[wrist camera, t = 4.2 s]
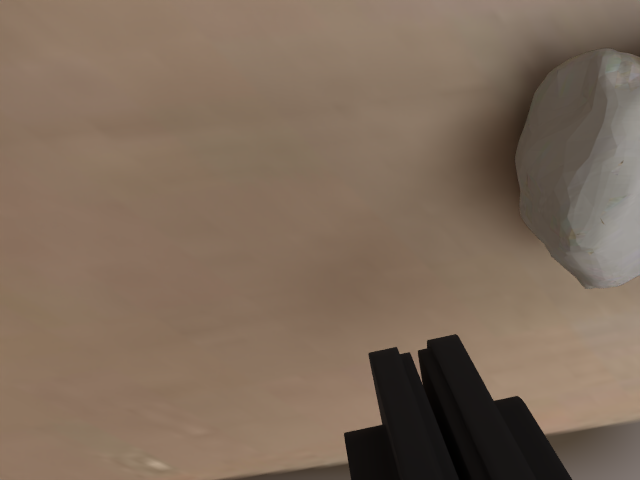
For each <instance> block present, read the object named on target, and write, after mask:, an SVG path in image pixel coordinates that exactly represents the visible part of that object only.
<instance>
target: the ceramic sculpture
mask: <svg viewBox="0 0 640 480" xmlns="http://www.w3.org/2000/svg"><path fill="white" fill-rule="evenodd" d="M515 164H516V171H517V176H518V181H519V186H520V191H521V193H520V201H519V208H520V214H521V217H522V219H523V220H524V222H525V224H526V225H527V226H528V228H529V229H530V230H531V231H532V232H533V233H534V234H535V235H536V236H537V237H538V238H539V239H540V240H541V241H542V242H543V243H544V244H545V246H546V248H547V249H548V251H549V253H550V255H551V257H553V258H554V259H555V260H556V261H557V262H558V263H559V264H561V265H562V266H563V267H564V268H565V269H566V270H568V271H569V272H570V273H571V274H572V275H574V276H575V277H576V278H577V279H578V280H579V282H580V283H581V285H582V286H583V287H585V288H586V289H592V288H609V287H617V286H620V285H622V284H624V283H626V282H628V281H629V280H631V279H633V278H635V277H637V276H639V275H640V57H638V56H635V55H632V54H629V53H623V52H618V51H616V50H614V49H610V48H604V49H598V50H593V51H589V52H587V53H584V54H580V55H578V56H576V57H573V58H571V59H569V60H567V61H566V62H564V63H563V64H561V65H559V66H557V67H556V68H554V69H553V70H552V71H551V72H549V73H548V75H547V76H546V78H545V79H544V81H543V82H542V83H541V85H540V86H539V87H538V89H537V90H536V92H535V93H534V97H533V100H532V103H531V107H530V110H529V113H528V117H527V120H526V123H525V126H524V129H523V131H522V134H521V136H520V139H519V143H518V147H517V151H516V155H515Z"/></svg>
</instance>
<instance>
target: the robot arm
mask: <svg viewBox="0 0 640 480" xmlns="http://www.w3.org/2000/svg"><path fill="white" fill-rule="evenodd" d="M418 357H419V363H420V370H421V376H422V382H421V380H420V377H419V374H418V372H417V369H416V367H415V364H414V361H413V359H412V356H411V354H410V352H408V353H404V354H399V351H398V349H397V347H394V348H389V349H385V350H380V351H375V352H371V353H369V359H370V365H371V370H372V375H373V380H374V385H375V390H376V395H377V400H378V405H379V410H380V415H381V420H382V425H379V426H374V427H370V428H365V429H360V430H356V431H351V432H346V433H344V437H345V444H346V450H347V456H348V462H349V468H350V474H351V480H572V479H571V477H570V475H569V474H568V472H567V471H566V469H565V468H564V466H563V464H562V463H561V461H560V459H559V458H558V456H557V455H556V453H555V451H554V450H553V448H552V446H551V445H550V443H549V441H548V440H547V438H546V437H545V435H544V433H543V432H542V430H541V429H540V427H539V425H538V424H537V422H536V420H535V419H534V417H533V416H532V414H531V412H530V411H529V409H528V407H527V406H526V404H525V403H524V402H523V400H522V399H521V398H520V397H518V396H515V397H510V398H506V399H501V400H496V401H493V399H492V397H491V395H490V393H489V392H488V390H487V388H486V386H485V384H484V382H483V381H482V379H481V377H480V375H479V373H478V371H477V370H476V368H475V366H474V364H473V362H472V360H471V359H470V357H469V355H468V353H467V351H466V349H465V348H464V346H463V344H462V342H461V340H460V338H459V337H458V335H456V334H455V335H450V336H445V337H441V338H436V339H431V340H428V341H427V349H422V350H418ZM422 383H423V385H422Z"/></svg>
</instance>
